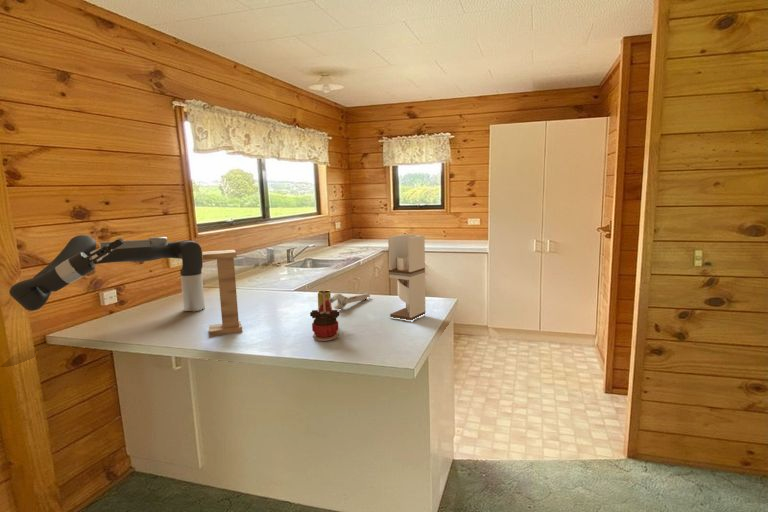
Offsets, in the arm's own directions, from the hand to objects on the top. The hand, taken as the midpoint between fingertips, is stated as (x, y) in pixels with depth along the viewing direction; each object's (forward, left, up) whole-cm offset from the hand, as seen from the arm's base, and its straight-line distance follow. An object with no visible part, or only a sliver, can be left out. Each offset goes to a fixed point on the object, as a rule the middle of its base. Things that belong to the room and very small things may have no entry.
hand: (121, 240), depth 156 cm
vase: (+12, +70, -39) cm, 81 cm away
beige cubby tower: (+17, +105, -39) cm, 114 cm away
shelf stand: (0, +32, -39) cm, 50 cm away
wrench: (-14, +91, -39) cm, 100 cm away
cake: (+27, +66, -39) cm, 82 cm away
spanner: (0, +4, -3) cm, 4 cm away
